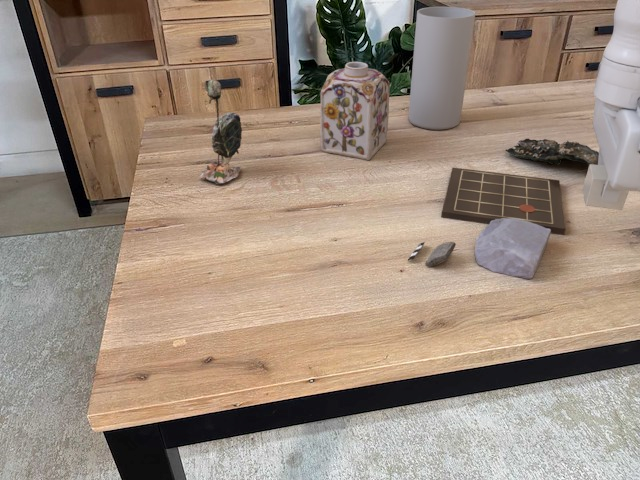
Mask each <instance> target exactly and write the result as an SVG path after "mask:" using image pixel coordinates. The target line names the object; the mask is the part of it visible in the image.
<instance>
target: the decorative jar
mask: <svg viewBox="0 0 640 480" xmlns="http://www.w3.org/2000/svg"><path fill="white" fill-rule="evenodd" d="M390 86H391V82H390V81H389V80H388V79H387V77H386V75H385V74H383V73H382V72H381V71H379V70H378V69H375V68H369V64H368V63H366V62H362V61H350V62H347V63H346V64H345V66H344V68H338V69H336V70H334V71H332V72H331V73H329V74H328V75H327V77H326V80H325V81H324V83H323V85H322V88H321V89H320V133H319V134H320V150H321V152H322V153H327V154H333V155H339V156H343V157H349V158H354V159H360V160H364V161H370V160H371V159H372V158H373V157H374V156H375V155H376V154H377V153H378V151H379V150H380V149H381V148H382V147H384V145H385V144H386V142H387V141H388V129H389V115H390V114H389V112H390Z"/></svg>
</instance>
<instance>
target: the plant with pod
mask: <svg viewBox="0 0 640 480" xmlns="http://www.w3.org/2000/svg"><path fill="white" fill-rule="evenodd" d="M206 90H207V91H206V93H207V96H208V97H209V100H208V104H209V105H211V104H212V101H213V100H214V101H215V107H216V121H214V124H213V127H212V134H211V138H210V141H211V147H212V149H213V152H214V153H215V154H217V160H216V161H212V162H210V163H208V165H207V166H206V168H205V169H204V170H203V171H201V173H200V175H199V177H198V179H200V180H203V179H205V178H206V179H205V180H208V181H210V182H212V183H215V184H216V185H222V184H225V183H228V182H230V181H232V179H236V178H238V177H239V174H240V171H241V166H230V161H231V159H232V157H233V156H234V155H235V154H239V155H240V152H239V149H240V148H241V145H242V144H241V143H242V139H243V138H242V132H243V130H242V129H243V128H242V121H241V117H240V115H239V114H237V113H236V112H229V111H228V112H225V113H224V114H223V115H221V116H220V112H219V110H220V109H219V108H220V107H219V99H221V97H222V84H221V83H220V82H219V81H218V80H216V79H213V78H211V79H210V80H208V81H207V86H206ZM220 157H221V159H220ZM220 160H221V162H220Z"/></svg>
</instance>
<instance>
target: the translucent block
mask: <svg viewBox="0 0 640 480" xmlns="http://www.w3.org/2000/svg"><path fill="white" fill-rule="evenodd" d="M586 172H587V173H586V176H585V178H584V182H583V186H582V190H581V191H582V196H583V202H584V205H585V207H591V208H599V209H607V210H614V211H615V210H616V211H623V209H624V207H625V205H626V202H627V201H626V200H627V199H628V195H629V192H630V191H627V190H621V192H620V195H619V198H618V200H617V202H615V203H610V202H604V201H602V197H601V191H602V188H603V184H605V183H606V181H607V178H608V176H607V171H606V168H605V166H603V165H594V164H590V165H588V169H587V171H586Z"/></svg>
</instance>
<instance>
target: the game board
mask: <svg viewBox="0 0 640 480" xmlns="http://www.w3.org/2000/svg"><path fill="white" fill-rule="evenodd" d="M441 218H443V219H450V220H451V219H452V220H457V221H458V220H459V221H464V222H471V223H478V224H487V225H489V224H490V222H491V221H492V220H495V219H501V218H516V219H520V220H524V221H529V222H531V223H534V224H537V225H540V226H542V227H544V228H548V229H551V232H550V234H556V235H563V236H564V235H565V233H566V230H567V229H566V221H565V212H564V205H563V197H562V190H561V183H560V179H553V178H545V177H537V176H528V175H518V174H510V173H503V172H494V171H485V170H477V169H468V168H461V167H452V168H451V172H450V177H449V180H448V185H447V189H446V193H445V197H444V201H443V206H442V210H441Z"/></svg>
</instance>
